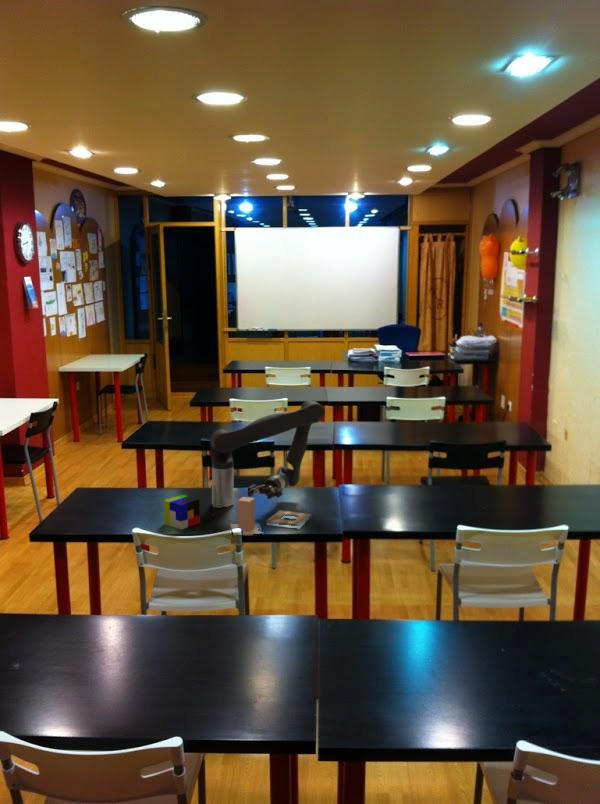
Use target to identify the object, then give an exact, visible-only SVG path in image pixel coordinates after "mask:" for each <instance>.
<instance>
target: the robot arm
mask: <svg viewBox="0 0 600 804" xmlns="http://www.w3.org/2000/svg"><path fill="white" fill-rule="evenodd" d="M325 414H326V411H325V408H324V406H323V405H322V404H321V403H319V402H317V401H316V400H313V399H306V400H305V401H304V402H303V403H302V404H301V407H300V409H297V410H294V411H289V412H280V413H272V414H269V415H265V416H263V417H260V418H257V419H256V420H253V421H252V422H250V423H249V424H247V425H246V426H244V427H241V428H239V429H236V430H231V431H228V430H227V429H217V430H215V431H214V432H213V433H212V435H211V437H210V459H211V473H212V474H211V478H212V479H211V480H212V481H211V487H212V488H211V493H212V494H211V499H212V500H211V503H212V508H219V509H220V508H222V507H227V508H229V507H228V506H231V505H233V504H234V502H235V498H234V493H235V492H234V487H235V486H234V485H235V483H234V482H235V481H234V459H233V451H234V450H236V449H238V448H240V447H241V448H242V447H243V446H245V445H249V444H252V443H255V442H259V441H261V440H264V439H269V438H272V437H275V436H277V435H279V434H282V433H285V432H288V431H291V430H294V429H295V432H294V435H293V437H292V438H293V439H292V441H291V444H290V447H289V450H288V451H287V455H286V458H285V460H286V462H287V464H289V465H291V466H292V468H289V467H286V466H280V467H279V468H278V469H277V471H276V474H274V475H272V476H270V477H268V478H267V479H266V480H264V481H263V482H262V484H261V485H256V484H252V485H250V486H248V487H247V497H249V498H252V496H253V495H257V496H261V495H265V496H267V500H271V499H272V498H280V497H282V495H284V489H285V488H286V487H288V486H289V487H295V486H297V485H298V484H299V481H300V475H301V473H300V472H301V471H300V470H301V465H302V461H303V458H304V456H305V454H306V451H307V446H308V439H309V434H310V433H309V432H310V429H311V426H312V424H317V423H319V422H321V421H322V420H323V419H324V417H325ZM234 505H235V504H234ZM234 505H233V506H234ZM231 507H232V506H231ZM222 509H223V508H222Z"/></svg>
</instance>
